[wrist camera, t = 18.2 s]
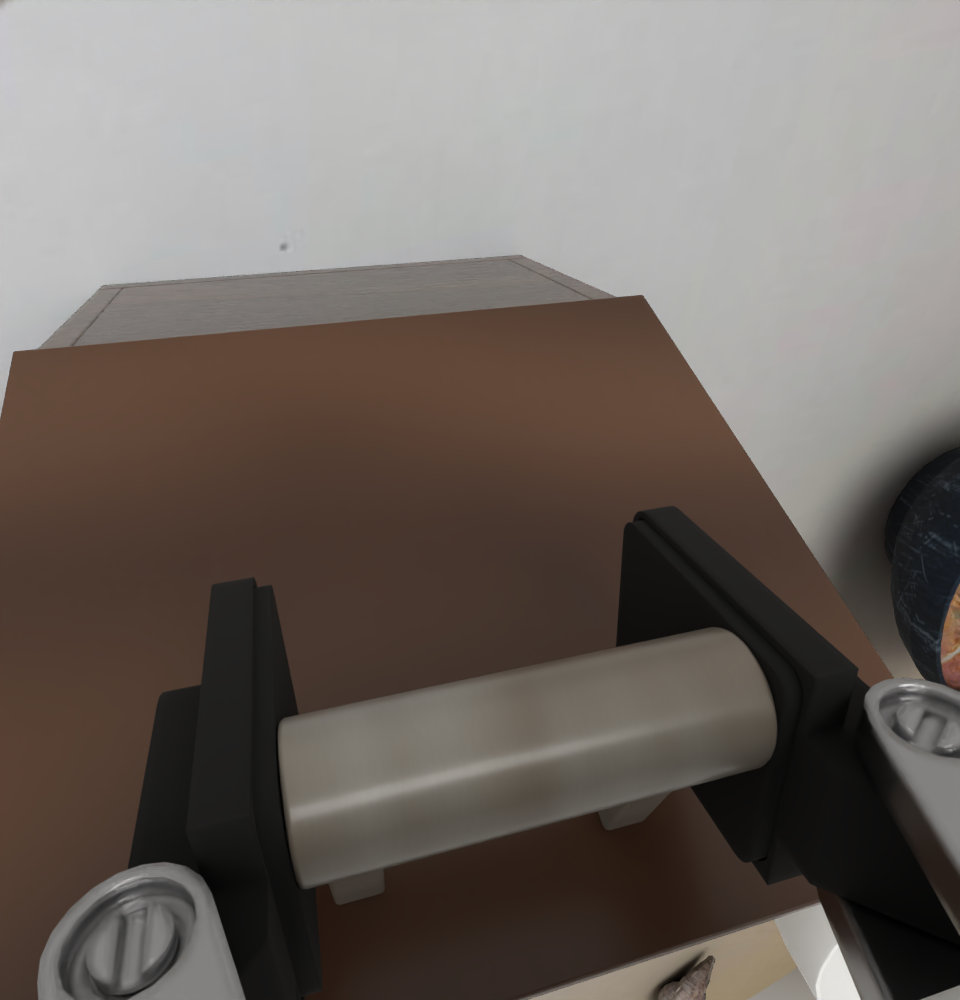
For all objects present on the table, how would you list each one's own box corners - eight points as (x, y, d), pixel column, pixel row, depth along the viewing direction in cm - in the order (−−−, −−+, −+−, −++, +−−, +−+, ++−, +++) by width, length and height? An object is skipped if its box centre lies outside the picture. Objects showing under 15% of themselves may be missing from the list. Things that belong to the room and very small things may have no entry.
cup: (697, 827, 49) (833, 1038, 38) (653, 739, 44) (796, 953, 32) (827, 751, 50) (1002, 938, 38) (799, 654, 44) (993, 837, 33)
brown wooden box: (521, 545, 35) (606, 673, 27) (185, 602, 31) (159, 772, 23) (521, 254, 29) (632, 303, 20) (101, 285, 25) (25, 359, 17)
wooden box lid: (972, 855, 12) (1287, 733, 8) (-117, 1209, 8) (-650, 1345, 4) (635, 317, 20) (697, 120, 16) (27, 377, 17) (-98, 143, 13)
